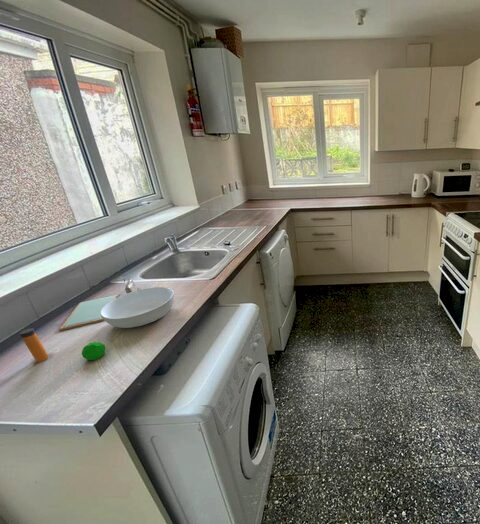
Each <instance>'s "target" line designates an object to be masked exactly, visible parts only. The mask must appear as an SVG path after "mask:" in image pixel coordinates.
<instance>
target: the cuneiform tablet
mask: <svg viewBox="0 0 480 524" xmlns="http://www.w3.org/2000/svg"><path fill="white" fill-rule="evenodd" d="M123 282H124V284H125V288H124V291H125V294H127V293H130V292H133V291H137V290H138V289H137V286H136V284H135V281H134V280H133V279H132V278H129V279H128V280H127V281H126V279H125V278H123Z"/></svg>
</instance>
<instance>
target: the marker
mask: <svg viewBox="0 0 480 524" xmlns="http://www.w3.org/2000/svg"><path fill="white" fill-rule="evenodd" d="M18 334H19V336H20V338H21V339H22V341H23V342H24V344H25V346H26V347H27V349H28V350H29V352H30V354H31V356H32V357H33V359H34V361H35V363H41V362H43V361H45V360H47V359H49V357H50V356H49V354H48V352H47V351H46V349H45V347H44V345H43V344H42V342H41V340H40V338H39V337H38V335H37V333H36V331H35V329H34V328H33V327H32V328H31V327H30V328H27V329H23V330H22V331H20V332H19V333H18Z"/></svg>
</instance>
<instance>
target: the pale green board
mask: <svg viewBox="0 0 480 524" xmlns="http://www.w3.org/2000/svg"><path fill="white" fill-rule="evenodd" d="M118 297H119V294H114V295H109V296H104V297H99V298H94V299H90V300H86V301H81V302H79V303H78V305H77V306H76V307H75V308H74V309H73V311H72V312H71V313H70V314H69V316H68V317H67V318H66V320H65V321H64V322H63V324H62V325H61V326H60V328H59V331H65V330H70V329H73V328H77V327H82V326H86V325H90V324H94V323H99V322H103V321H105V320H104V319H103V318H102V317H101V315H100V312H101V309H102V308H103V307H104V306H105V305H106V304H107V303H109V302H110V301H112V300H114V299H116V298H118Z"/></svg>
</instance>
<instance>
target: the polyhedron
mask: <svg viewBox="0 0 480 524" xmlns="http://www.w3.org/2000/svg"><path fill="white" fill-rule="evenodd" d="M105 353H106V345H105V344H103V343H101V342H100V341H93V342H89V343H88V344H86V345H85V346H83V348H82V350H81V356H82V358H84V359H85V360H87V361H93V360H98V359H99V358H101V357H102V356H103V355H105Z"/></svg>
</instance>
